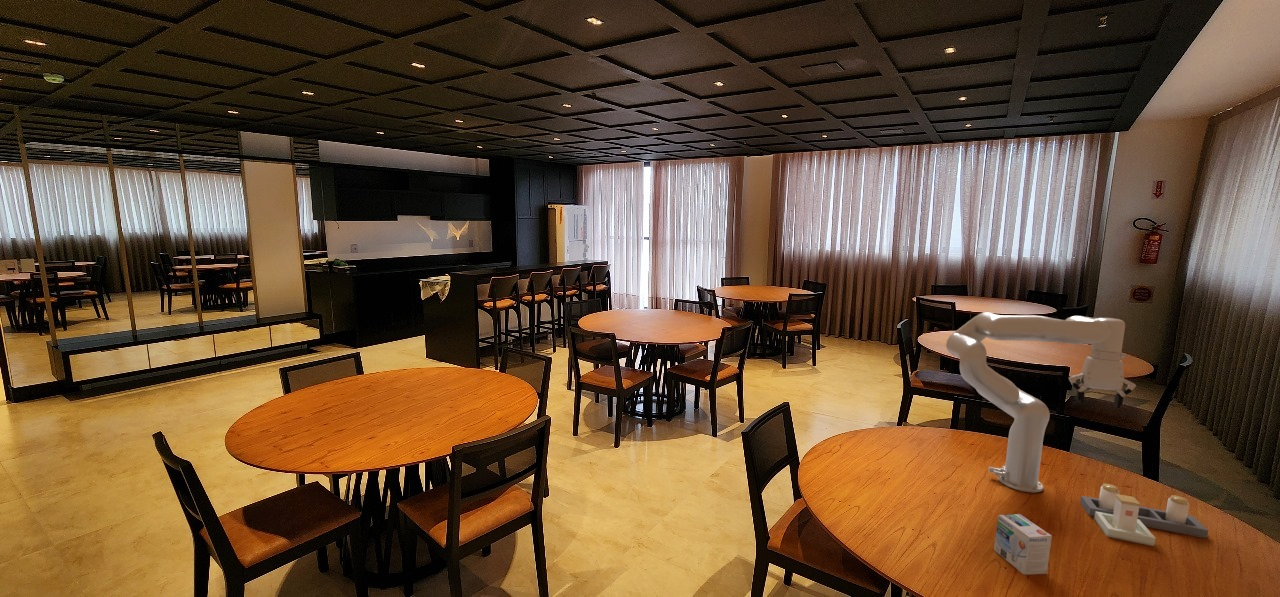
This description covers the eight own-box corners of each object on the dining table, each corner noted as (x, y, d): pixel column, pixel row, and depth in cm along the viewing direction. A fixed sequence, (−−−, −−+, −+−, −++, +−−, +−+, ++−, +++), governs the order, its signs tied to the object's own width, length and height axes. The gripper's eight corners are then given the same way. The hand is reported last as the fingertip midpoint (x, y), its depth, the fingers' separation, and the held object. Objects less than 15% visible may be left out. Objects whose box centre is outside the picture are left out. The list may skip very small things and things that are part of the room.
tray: (1107, 536, 151) (1108, 528, 151) (1094, 518, 160) (1095, 511, 160) (1154, 546, 147) (1155, 538, 146) (1138, 527, 156) (1139, 519, 156)
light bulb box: (992, 550, 144) (996, 513, 143) (1015, 549, 145) (1019, 513, 143) (1024, 575, 134) (1028, 537, 132) (1048, 574, 134) (1053, 536, 133)
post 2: (1168, 528, 156) (1172, 500, 154) (1161, 520, 160) (1165, 493, 158) (1188, 531, 154) (1192, 503, 153) (1180, 524, 158) (1185, 496, 156)
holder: (1089, 515, 162) (1090, 508, 162) (1080, 502, 170) (1081, 495, 169) (1206, 538, 151) (1208, 530, 150) (1191, 523, 158) (1193, 516, 158)
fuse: (1111, 524, 156) (1115, 493, 155) (1129, 528, 154) (1133, 497, 153) (1116, 532, 152) (1121, 500, 151) (1135, 535, 151) (1140, 503, 149)
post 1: (1100, 515, 162) (1104, 488, 161) (1095, 508, 166) (1098, 481, 165) (1118, 518, 161) (1122, 491, 159) (1112, 511, 164) (1116, 484, 163)
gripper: (1134, 355, 172) (1127, 405, 174) (1069, 349, 179) (1062, 397, 181) (1144, 360, 165) (1136, 412, 167) (1076, 354, 172) (1069, 404, 174)
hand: (1098, 404), depth 174 cm, fingers open, 9 cm apart
